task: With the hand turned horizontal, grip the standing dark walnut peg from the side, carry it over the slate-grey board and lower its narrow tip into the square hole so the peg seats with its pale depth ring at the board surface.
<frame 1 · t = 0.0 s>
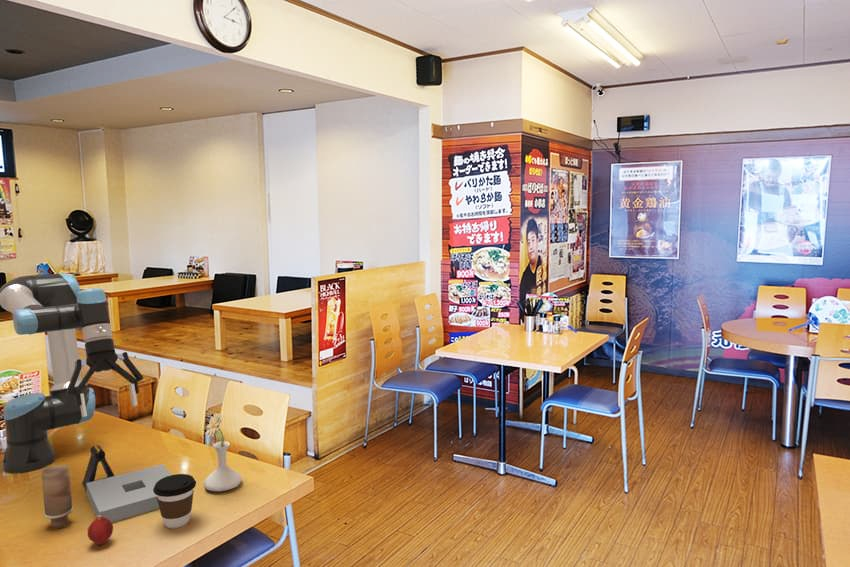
hand: (110, 411, 173), 28 cm above the table, tool tilted 20°, fingers open, 13 cm apart
coffee cup: (177, 523, 164), on the table
flower in vase: (223, 488, 185), on the table
onion: (101, 544, 154), on the table
walnut peg: (59, 524, 163), on the table
phone stand: (100, 484, 187), on the table
slate board: (134, 498, 178), on the table
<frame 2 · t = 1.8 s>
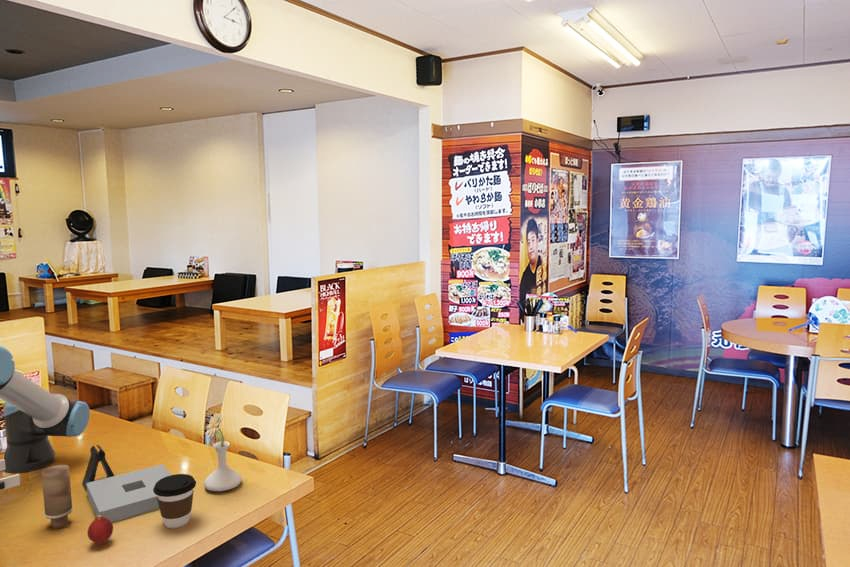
hand: (12, 471, 154), 19 cm above the table, tool horizontal, fingers open, 13 cm apart
nothing on the table moved.
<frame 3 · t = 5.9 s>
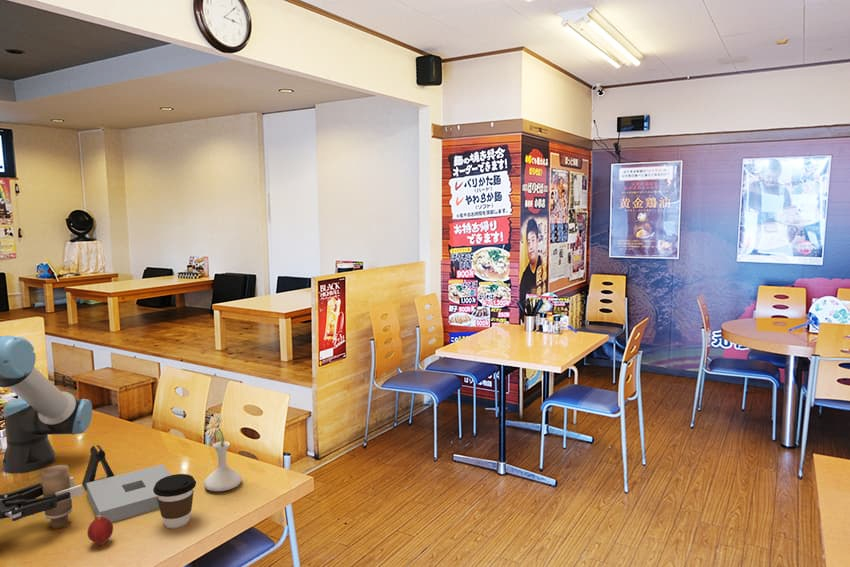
hand: (77, 485, 166), 10 cm above the table, tool horizontal, fingers closed on walnut peg, 6 cm apart
walnut peg: (59, 524, 163), on the table, touching gripper
everything else where it was.
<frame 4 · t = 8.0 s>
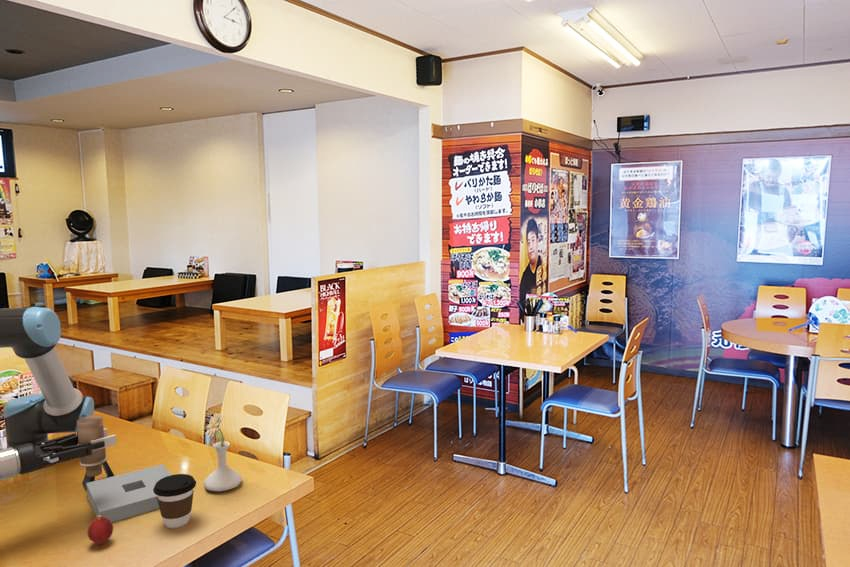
hand: (111, 436, 170), 22 cm above the table, tool horizontal, fingers closed on walnut peg, 6 cm apart
walnut peg: (94, 473, 168), point 12 cm above the table, touching gripper
everything else where it was.
when the fingers open (11 cm above the table, at t = 10.6 s): walnut peg drops 1 cm, resting on slate board.
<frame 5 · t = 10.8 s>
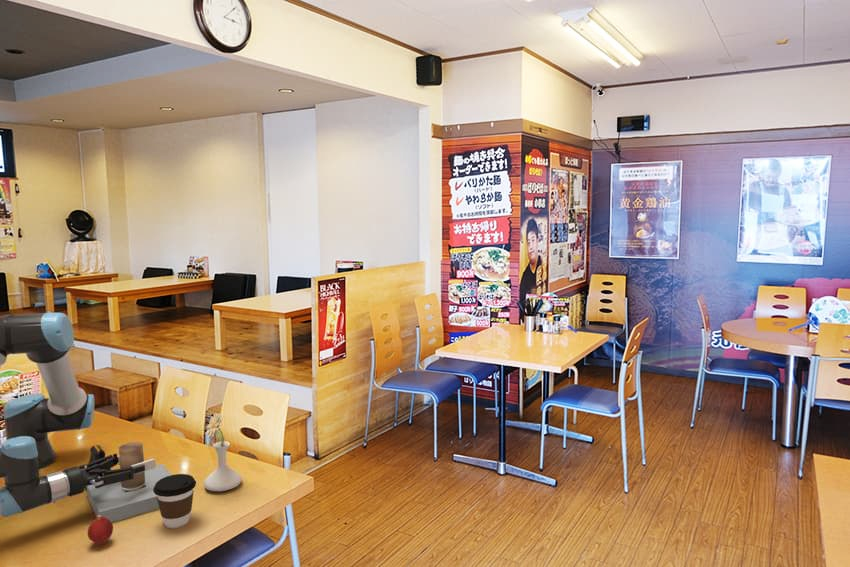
hand: (147, 458, 180), 11 cm above the table, tool horizontal, fingers open, 9 cm apart
walnut peg: (134, 497, 178), resting on slate board
everything else where it was.
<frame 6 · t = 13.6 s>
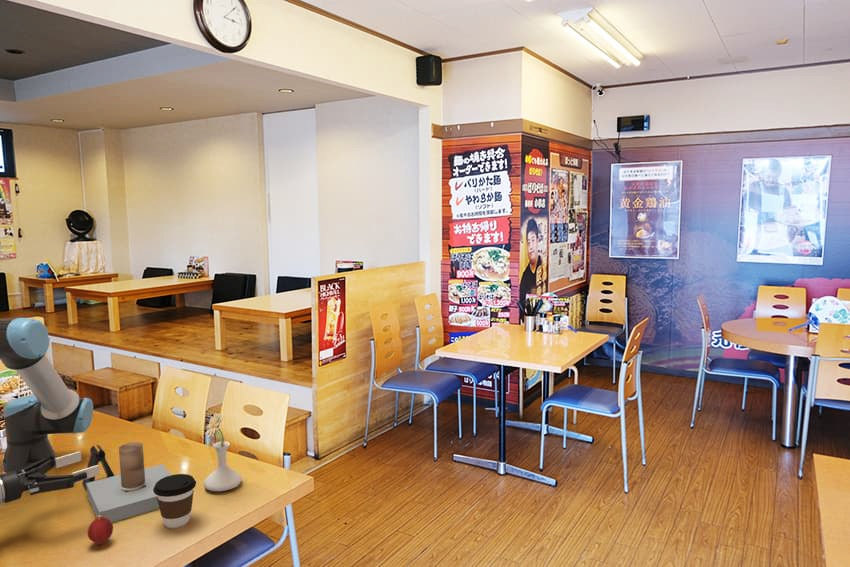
hand: (89, 462, 169), 15 cm above the table, tool horizontal, fingers open, 13 cm apart
nothing on the table moved.
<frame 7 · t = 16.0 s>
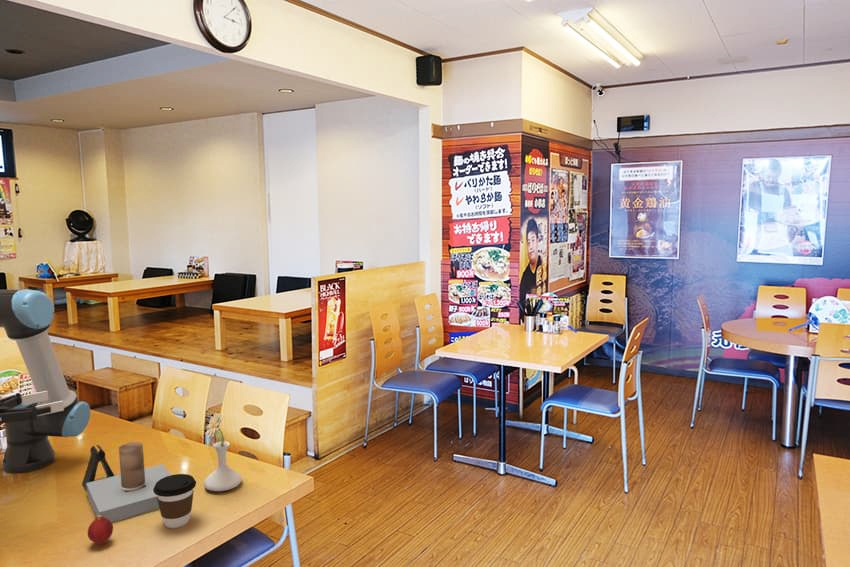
hand: (55, 400, 170), 32 cm above the table, tool horizontal, fingers open, 13 cm apart
nothing on the table moved.
at the end: walnut peg 0.0 cm off-centre on the slate board, point 0.5 cm above the slate board's base; walnut peg tilted 0°; the gripper is holding nothing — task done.
